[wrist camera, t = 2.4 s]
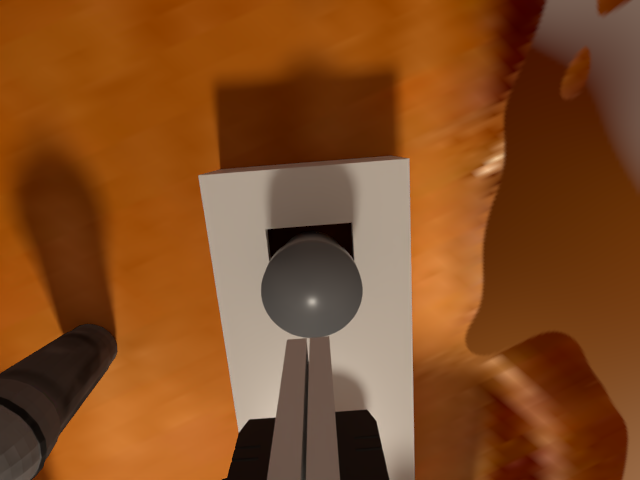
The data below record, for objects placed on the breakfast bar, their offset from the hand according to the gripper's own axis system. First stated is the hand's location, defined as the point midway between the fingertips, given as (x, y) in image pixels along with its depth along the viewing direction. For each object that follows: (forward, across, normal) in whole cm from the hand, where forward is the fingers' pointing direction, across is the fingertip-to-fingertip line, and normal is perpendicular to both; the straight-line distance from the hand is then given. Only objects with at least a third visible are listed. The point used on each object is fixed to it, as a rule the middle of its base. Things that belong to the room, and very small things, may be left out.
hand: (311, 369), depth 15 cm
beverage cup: (+19, -21, -8) cm, 29 cm away
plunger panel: (+18, 0, -8) cm, 20 cm away
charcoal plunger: (+13, 0, 0) cm, 13 cm away
